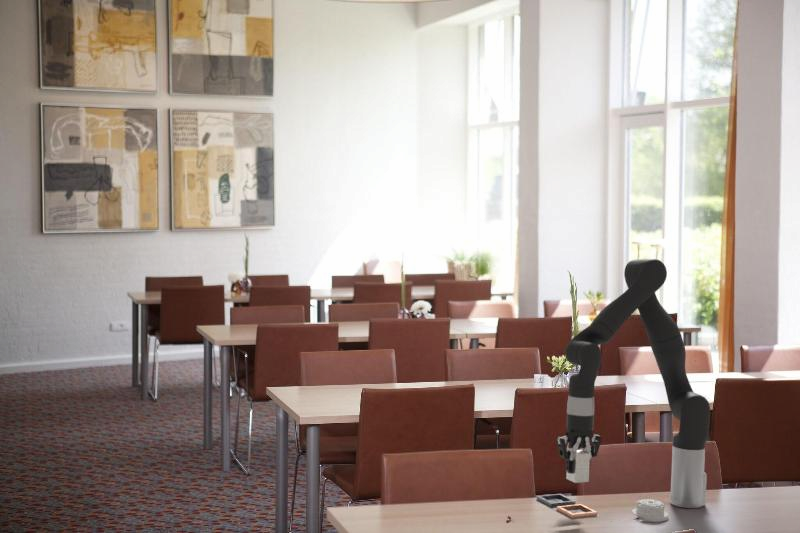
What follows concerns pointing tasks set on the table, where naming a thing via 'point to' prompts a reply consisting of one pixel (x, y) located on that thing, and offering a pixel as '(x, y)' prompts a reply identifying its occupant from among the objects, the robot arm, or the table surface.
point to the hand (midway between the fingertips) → (577, 472)
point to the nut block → (580, 467)
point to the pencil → (508, 519)
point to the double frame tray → (567, 506)
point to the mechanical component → (650, 511)
